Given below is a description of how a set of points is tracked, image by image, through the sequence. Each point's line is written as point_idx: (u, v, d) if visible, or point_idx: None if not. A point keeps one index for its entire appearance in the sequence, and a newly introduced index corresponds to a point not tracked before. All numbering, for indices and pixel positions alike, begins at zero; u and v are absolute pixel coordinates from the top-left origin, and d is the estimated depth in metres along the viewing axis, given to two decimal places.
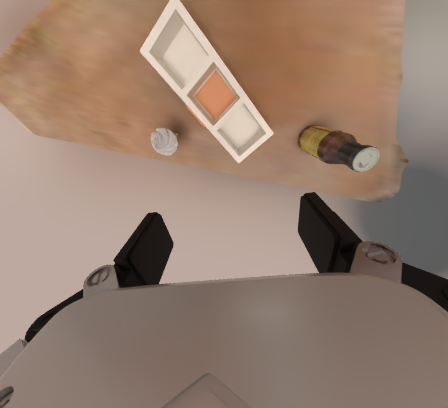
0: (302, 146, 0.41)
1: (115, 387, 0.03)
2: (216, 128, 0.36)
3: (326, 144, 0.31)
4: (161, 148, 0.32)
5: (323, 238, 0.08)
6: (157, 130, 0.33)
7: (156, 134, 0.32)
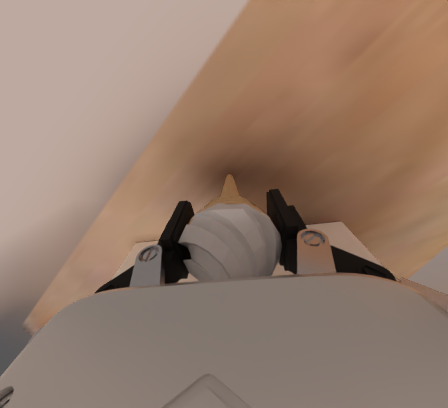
0: None
1: (115, 387, 0.03)
2: None
3: None
4: None
5: (277, 228, 0.09)
6: None
7: None
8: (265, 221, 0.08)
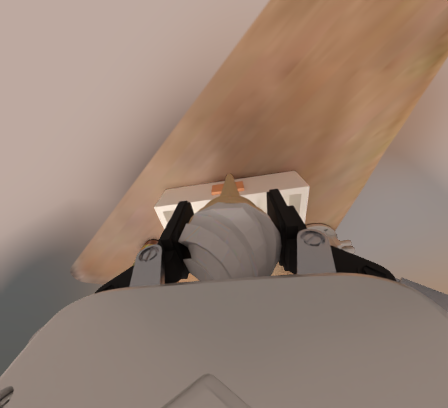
0: None
1: (115, 387, 0.03)
2: None
3: None
4: None
5: (277, 228, 0.09)
6: None
7: None
8: (265, 220, 0.08)
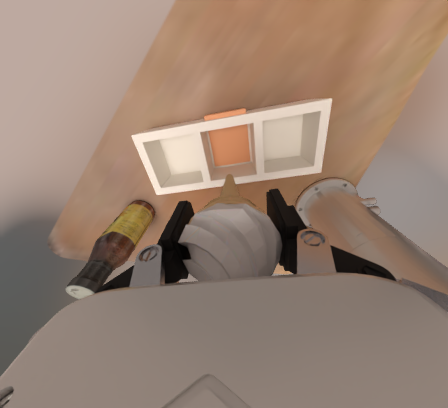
0: (133, 207, 0.35)
1: (115, 387, 0.03)
2: (194, 135, 0.24)
3: (120, 246, 0.28)
4: None
5: (277, 228, 0.09)
6: None
7: None
8: (265, 221, 0.08)
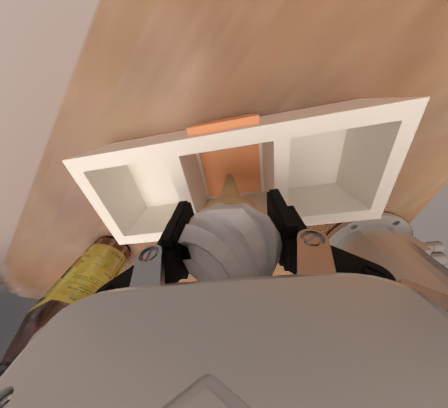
0: (96, 249, 0.25)
1: (115, 387, 0.03)
2: (170, 160, 0.14)
3: None
4: None
5: (277, 228, 0.09)
6: None
7: None
8: (265, 221, 0.08)
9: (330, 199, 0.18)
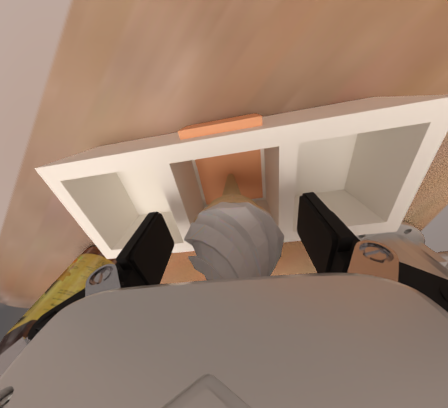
0: (85, 260, 0.24)
1: (115, 387, 0.03)
2: (159, 168, 0.12)
3: None
4: None
5: (321, 237, 0.08)
6: None
7: (271, 272, 0.08)
8: (267, 219, 0.08)
9: (339, 208, 0.16)
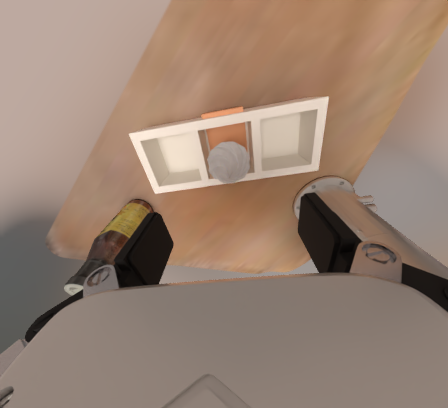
0: (132, 205, 0.35)
1: (115, 387, 0.03)
2: (192, 133, 0.24)
3: (118, 245, 0.28)
4: (222, 174, 0.19)
5: (323, 238, 0.08)
6: (247, 167, 0.21)
7: (244, 169, 0.20)
8: (242, 147, 0.20)
9: (290, 161, 0.28)
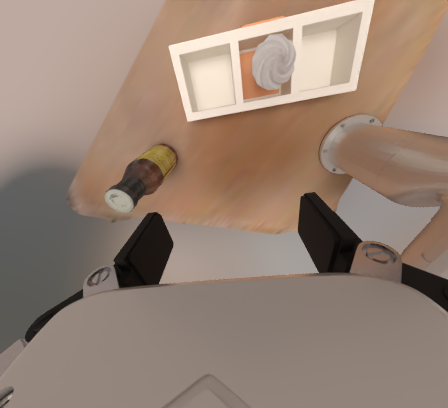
0: (159, 146, 0.35)
1: (115, 387, 0.03)
2: (232, 44, 0.24)
3: (152, 170, 0.28)
4: (273, 59, 0.18)
5: (323, 238, 0.08)
6: (291, 68, 0.21)
7: (291, 64, 0.20)
8: (289, 42, 0.20)
9: None
